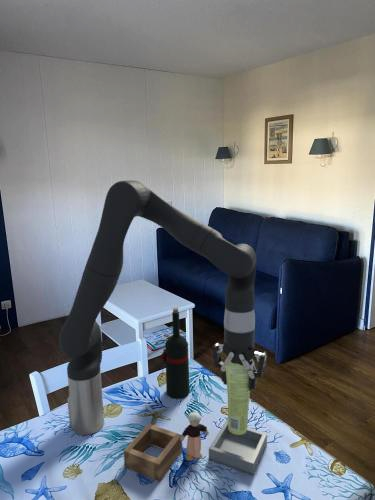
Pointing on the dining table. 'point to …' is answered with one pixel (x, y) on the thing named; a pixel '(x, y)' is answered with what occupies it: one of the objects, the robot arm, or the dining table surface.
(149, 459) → the wooden frame
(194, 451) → the grandmother figurine
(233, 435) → the tray
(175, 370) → the wine bottle
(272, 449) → the dining table surface
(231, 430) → the tube
